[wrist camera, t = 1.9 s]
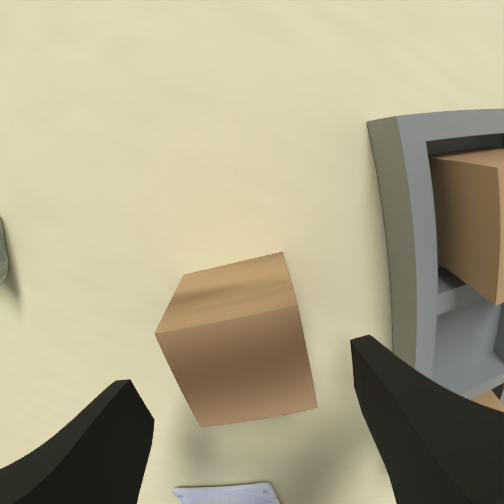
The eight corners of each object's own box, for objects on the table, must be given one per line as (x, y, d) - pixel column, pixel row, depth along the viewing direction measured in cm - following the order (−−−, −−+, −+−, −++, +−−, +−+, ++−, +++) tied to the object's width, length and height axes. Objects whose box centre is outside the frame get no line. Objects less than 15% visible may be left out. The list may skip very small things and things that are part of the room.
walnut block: (301, 336, 15) (317, 407, 11) (212, 354, 16) (200, 426, 11) (282, 251, 14) (297, 304, 9) (184, 274, 14) (154, 333, 10)
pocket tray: (475, 415, 18) (508, 465, 12) (387, 452, 19) (409, 514, 13) (496, 110, 12) (581, 110, 6) (366, 121, 12) (443, 108, 6)
